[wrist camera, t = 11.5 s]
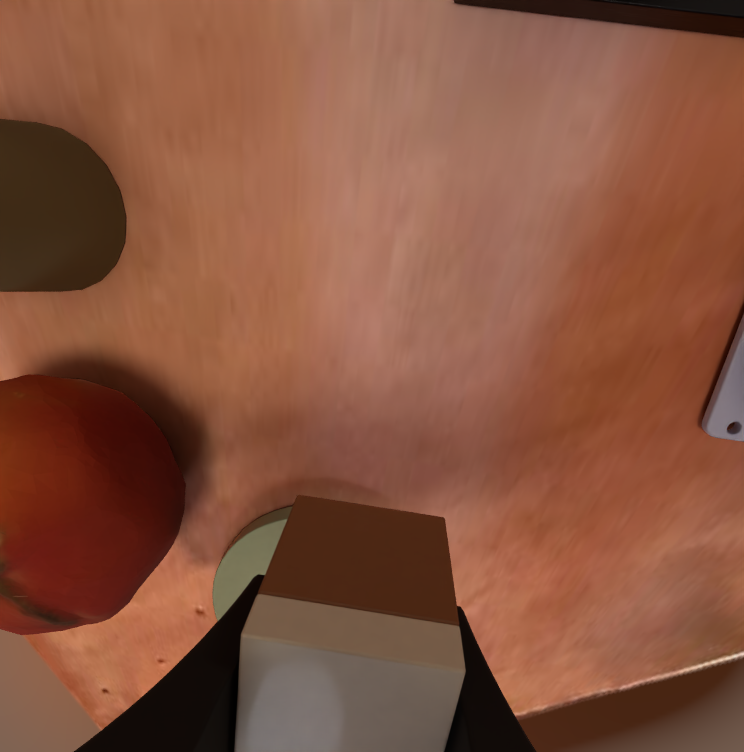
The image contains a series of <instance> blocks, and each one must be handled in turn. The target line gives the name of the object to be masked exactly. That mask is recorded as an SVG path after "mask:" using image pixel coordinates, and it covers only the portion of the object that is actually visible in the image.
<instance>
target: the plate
mask: <svg viewBox="0 0 744 752" xmlns="http://www.w3.org/2000/svg"><path fill="white" fill-rule="evenodd" d="M292 507H293V506H291V507H287V508H283V509H279V510H276V511H273V512H271V513H268V514H266V515H264V516H262V517H260V518H258V519H257V520H255V521H253V522H252V523H251V524H249V525H248V526H247V527H245V528H244V529H243V530H242V531H241V532H240V533H239V534H238V535H237V536H236V537H235V539H234V540H233V542H232V543H231V545H230V546H229V548H228V549H227V551H226V553H225V555H224V557H223V558H222V560H221V562H220V564H219V567H218V569H217V571H216V575H215V578H214V583H213V606H214V610H215V615H216V618H217V620H218V621H219V620H220V618H221V617H222V616H223V615H224V614H225V613H226V612H227V610H228V609H229V608H230V607H231V606H232V604H233V603H234V602H235V601H236V600H237V598H238V597H239V596H240V595H241V593H242V592H243V591H244V589H245V588H246V587H247V586H248V584H249V583H250V581H251V580H252V579H253V577H255V576H256V575H258V574H260V575H265V574H266V571H267V569H268V566H269V564H270V561H271V559H272V556H273V554H274V551H275V549H276V546H277V544H278V541H279V539H280V536H281V534H282V531H283V529H284V527H285V524H286V522H287V519H288V517H289V514H290V512H291V509H292Z"/></svg>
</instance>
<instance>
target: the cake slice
mask: <svg viewBox="0 0 744 752" xmlns="http://www.w3.org/2000/svg"><path fill="white" fill-rule="evenodd" d="M465 672H466V669H465V662H464V655H463V647H462V640H461V633H460V628H459V619H458V612H457V604H456V597H455V590H454V582H453V575H452V568H451V560H450V553H449V546H448V538H447V531H446V524H445V519H444V518H443V517H438V516H432V515H425V514H419V513H412V512H406V511H400V510H393V509H387V508H380V507H374V506H368V505H361V504H355V503H348V502H342V501H335V500H329V499H323V498H316V497H310V496H303V495H298V496H297V497H296V499H295V502H294V504H293V507H292V509H291V512H290V514H289V517H288V519H287V522H286V524H285V527H284V529H283V531H282V534H281V536H280V539H279V541H278V544H277V546H276V549H275V551H274V554H273V556H272V559H271V561H270V564H269V566H268V569H267V571H266V574H265V576H264V579H263V581H262V584H261V586H260V588H259V591H258V595H257V596H256V598H255V601H254V603H253V606H252V608H251V611H250V613H249V616H248V618H247V620H246V623H245V625H244V628H243V630H242V633H241V641H240V658H239V676H238V693H237V711H236V729H235V746H234V752H444V751H445V747H446V744H447V740H448V736H449V732H450V729H451V725H452V721H453V717H454V714H455V710H456V706H457V702H458V699H459V695H460V691H461V687H462V684H463V680H464V676H465Z"/></svg>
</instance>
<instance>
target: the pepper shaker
mask: <svg viewBox="0 0 744 752" xmlns="http://www.w3.org/2000/svg"><path fill="white" fill-rule="evenodd" d="M125 228H126V215H125V211H124V206H123V202H122V198H121V194H120V190H119V188H118V186H117V184H116V183H115V181H114V179H113V177H112V175H111V173H110V171H109V169H108V168H107V166H106V164H105V163H104V162H103V161H102V160H101V159H100V158H99V157H98V156H97V155H96V154H95V152H94V151H93V150H92V149H91V148H90V147H89V146H88V145H87V144H86V143H85V142H83V141H81V140H80V139H78V138H76V137H75V136H73V135H71V134H70V133H68V132H67V131H65V130H63V129H61V128H57V127H53V126H49V125H45V124H41V123H37V122H27V121H16V120H6V119H0V292H39V291H72V290H82V289H84V288H87V287H89V286H91V285H93V284H95V283H97V282H99V281H101V280H102V279H103V278H104V277H105V276H106V275H107V274H108V273H109V272H110V270H111V269H112V268H113V267H114V266H115V265H116V263H117V261H118V258H119V256H120V253H121V251H122V248H123V246H124V243H125Z"/></svg>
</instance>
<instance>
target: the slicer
mask: <svg viewBox="0 0 744 752" xmlns="http://www.w3.org/2000/svg"><path fill="white" fill-rule="evenodd" d="M454 2H455V3H461V4H469V5H477V6H486V7H494V8H503V9H511V10H520V11H528V12H536V13H545V14H553V15H562V16H570V17H578V18H587V19H595V20H604V21H612V22H620V23H629V24H637V25H646V26H654V27H662V28H671V29H679V30H688V31H696V32H704V33H713V34H721V35H730V36H738V37H744V0H454Z"/></svg>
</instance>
